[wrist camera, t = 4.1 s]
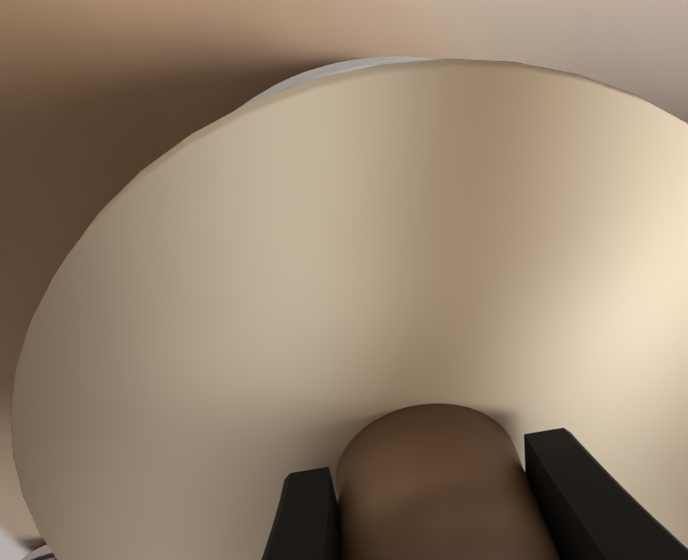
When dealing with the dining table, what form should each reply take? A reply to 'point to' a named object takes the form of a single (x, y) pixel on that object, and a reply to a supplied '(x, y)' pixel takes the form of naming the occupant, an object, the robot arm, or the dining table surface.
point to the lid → (368, 320)
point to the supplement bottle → (41, 554)
